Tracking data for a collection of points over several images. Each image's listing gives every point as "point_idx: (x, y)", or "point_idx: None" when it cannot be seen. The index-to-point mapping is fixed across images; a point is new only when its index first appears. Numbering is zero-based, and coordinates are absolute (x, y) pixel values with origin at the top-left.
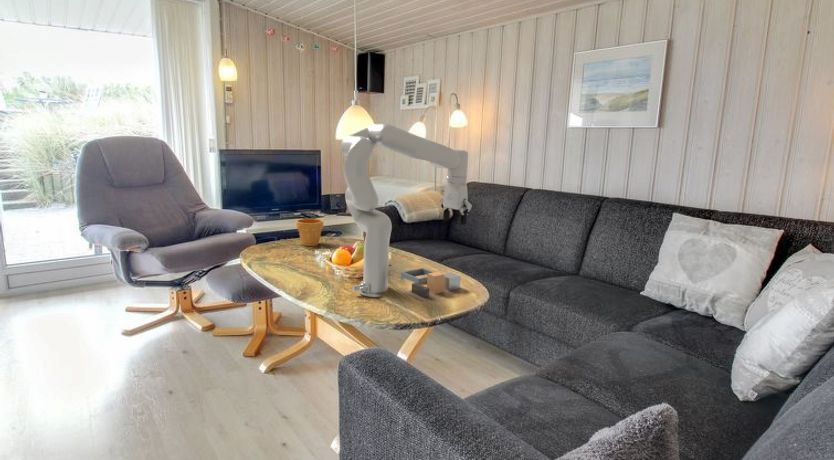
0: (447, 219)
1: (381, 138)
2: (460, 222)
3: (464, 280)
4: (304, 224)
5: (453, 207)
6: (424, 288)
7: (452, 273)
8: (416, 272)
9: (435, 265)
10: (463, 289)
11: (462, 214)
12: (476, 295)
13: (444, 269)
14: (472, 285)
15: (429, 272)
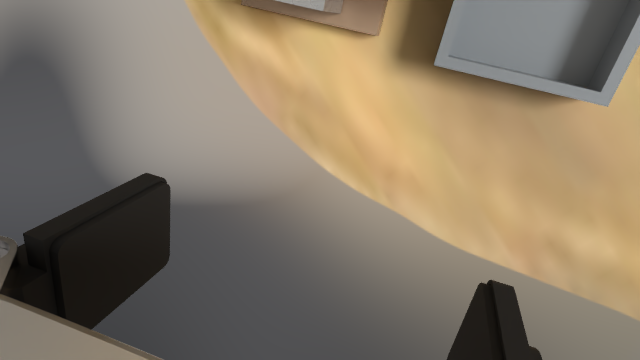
0: (459, 340)
1: None
2: (131, 180)
3: (367, 172)
4: None
5: (22, 342)
6: None
7: (309, 4)
8: (618, 41)
9: (623, 304)
10: (262, 4)
11: (4, 251)
12: (219, 24)
13: (540, 267)
14: (304, 132)
15: (527, 74)
